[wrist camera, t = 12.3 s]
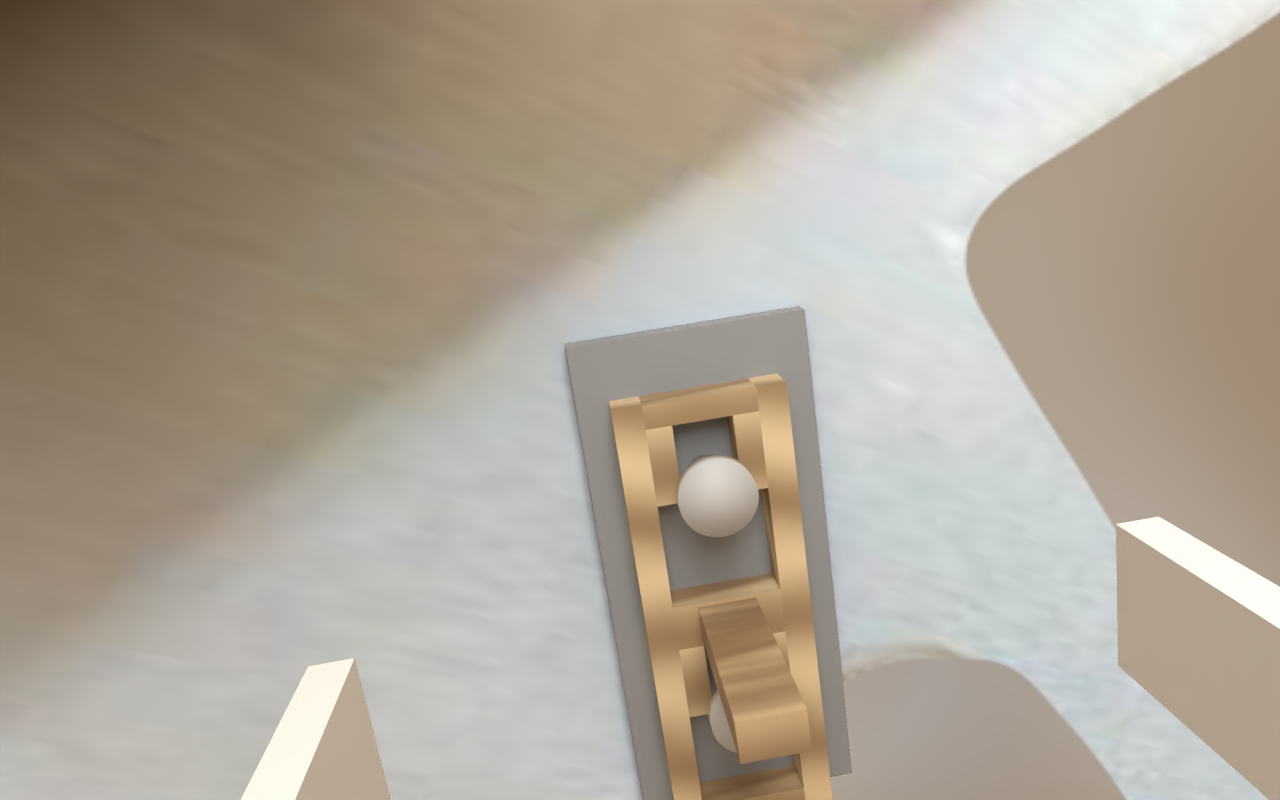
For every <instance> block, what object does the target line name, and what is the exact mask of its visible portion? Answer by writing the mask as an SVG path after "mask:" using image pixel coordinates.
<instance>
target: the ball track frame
mask: <svg viewBox="0 0 1280 800" xmlns="http://www.w3.org/2000/svg"><path fill="white" fill-rule="evenodd" d="M609 405H610V411H611V417H612V423H613V429H614V435H615V442H616V448H617V454H618V460H619V466H620V472H621V479H622V485H623V491H624V497H625V503H626V509H627V516H628V522H629V528H630V534H631V540H632V546H633V552H634V559H635V565H636V571H637V577H638V583H639V589H640V596H641V602H642V608H643V614H644V620H645V626H646V633H647V639H648V645H649V651H650V657H651V663H652V670H653V676H654V682H655V688H656V694H657V700H658V707H659V713H660V719H661V725H662V731H663V737H664V743H665V750H666V756H667V762H668V768H669V774H670V780H671V787H672V793H673V799H674V800H832V789H831V781H830V771H829V762H828V753H827V744H826V735H825V726H824V717H823V708H822V698H821V689H820V680H819V671H818V662H817V653H816V644H815V635H814V626H813V617H812V608H811V598H810V589H809V580H808V571H807V562H806V553H805V544H804V535H803V526H802V517H801V507H800V498H799V489H798V480H797V471H796V462H795V453H794V444H793V435H792V426H791V416H790V407H789V398H788V389H787V382H786V381H785V380H784V379H783V378H782V377H780V376H779V375H778V374H771V375H765V376H759V377H753V378H747V379H741V380H735V381H729V382H722V383H716V384H710V385H704V386H698V387H692V388H686V389H680V390H674V391H668V392H662V393H656V394H650V395H644V396H638V397H632V398H626V399H620V400H614V401H609ZM721 417H727V419H728V427H729V435H730V443H731V450H732V458H734V459H736V460H738V461H740V462H741V463H742V464H743V465H744V466H745V467H746V468H747V469H748V471H749V472H750V474H751V475H752V477H753V479H754V480H755V482H756V485H757V488H758V489H762V497H763V506H764V514H765V522H766V530H767V539H768V547H769V555H770V564H771V572H772V573H768V574H763V575H757V576H751V577H745V578H740V579H734V580H728V581H723V582H717V583H711V584H706V585H700V586H694V587H688V588H683V589H677V590H671V591H670V586H669V580H668V573H667V567H666V560H665V554H664V547H663V541H662V534H661V527H660V521H659V514H658V508H657V507H659V506H665V505H671V504H677V498H676V490H677V484H678V481H679V479H680V477H679V470H678V463H677V456H676V449H675V442H674V435H673V429H672V426H673V425H679V424H685V423H691V422H697V421H703V420H709V419H715V418H721ZM704 646H705V649H706V652H707V656H708V659H709V662H710V665H711V669H712V672H713V675H714V679H715V682H716V685H717V688H718V692H719V695H720V698H721V702H722V705H723V708H724V711H725V715H726V718H727V721H728V725H729V728H730V731H731V735H732V738H733V741H734V744H735V748H736V751H737V754H738V758H739V761H740V764H744V763H750V762H755V761H760V760H766V759H771V758H777V757H782V756H787V755H793V754H794V762H795V765H792V766H787V767H781V768H776V769H770V770H765V771H760V772H754V773H749V774H744V775H738V776H733V777H727V778H722V779H717V780H711V781H706V782H700V783H699V776H698V769H697V763H696V756H695V750H694V743H693V737H692V730H691V724H690V717H695V716H700V715H706V714H708V707H709V703H710V700H711V691H710V684H709V677H708V670H707V663H706V656H705V649H704Z"/></svg>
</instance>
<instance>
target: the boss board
mask: <svg viewBox="0 0 1280 800" xmlns="http://www.w3.org/2000/svg"><path fill="white" fill-rule="evenodd" d="M565 345H566V354H567V359H568V365H569V371H570V377H571V383H572V389H573V394H574V400H575V406H576V412H577V418H578V423H579V429H580V435H581V441H582V447H583V452H584V458H585V464H586V470H587V476H588V481H589V487H590V493H591V499H592V505H593V511H594V516H595V522H596V528H597V534H598V540H599V545H600V551H601V557H602V563H603V569H604V574H605V580H606V586H607V592H608V598H609V604H610V609H611V615H612V621H613V627H614V633H615V638H616V644H617V650H618V656H619V662H620V667H621V673H622V679H623V685H624V691H625V696H626V702H627V708H628V714H629V720H630V726H631V731H632V737H633V743H634V749H635V755H636V760H637V766H638V772H639V778H640V784H641V789H642V795H643V800H674V799H673V793H672V787H671V780H670V774H669V768H668V762H667V756H666V750H665V743H664V737H663V731H662V725H661V719H660V713H659V707H658V700H657V694H656V688H655V682H654V676H653V670H652V663H651V657H650V651H649V645H648V639H647V633H646V626H645V620H644V614H643V608H642V602H641V596H640V589H639V583H638V577H637V571H636V565H635V559H634V552H633V546H632V540H631V534H630V528H629V522H628V516H627V509H626V503H625V497H624V491H623V485H622V479H621V472H620V466H619V460H618V454H617V448H616V442H615V435H614V429H613V423H612V417H611V411H610V405H609V401H614V400H620V399H626V398H632V397H638V396H644V395H650V394H656V393H662V392H668V391H674V390H680V389H686V388H692V387H698V386H704V385H710V384H716V383H722V382H729V381H735V380H741V379H747V378H753V377H759V376H765V375H771V374H778V375H779V376H780V377H782V378H783V379H784V380H785V381H786V382H787V389H788V398H789V407H790V416H791V426H792V435H793V444H794V453H795V462H796V471H797V480H798V489H799V498H800V507H801V517H802V526H803V535H804V544H805V553H806V562H807V571H808V580H809V589H810V598H811V608H812V617H813V626H814V635H815V644H816V653H817V662H818V671H819V680H820V689H821V698H822V708H823V717H824V726H825V735H826V744H827V753H828V762H829V771H830V777H832V776H837V775H842V774H847V773H852V769H851V759H850V749H849V740H848V731H847V720H846V711H845V702H844V701H845V700H844V691H843V681H842V671H841V661H840V652H839V642H838V632H837V622H836V613H835V603H834V593H833V583H832V573H831V564H830V554H829V544H828V534H827V525H826V515H825V505H824V495H823V486H822V476H821V466H820V456H819V447H818V437H817V427H816V417H815V407H814V398H813V388H812V378H811V368H810V359H809V349H808V339H807V329H806V320H805V310H804V309H802V308H801V307H799V306H797V307H791V308H784V309H778V310H772V311H766V312H760V313H753V314H747V315H741V316H735V317H729V318H723V319H716V320H710V321H704V322H698V323H692V324H686V325H679V326H673V327H667V328H661V329H655V330H648V331H642V332H636V333H630V334H624V335H618V336H611V337H605V338H599V339H593V340H587V341H580V342H574V343H568V344H565ZM672 429H673V435H674V442H675V449H676V456H677V463H678V470H679V477H680V479H679V481H678V484H677V490H676V498H677V504H671V505H665V506H659V507H657V508H658V514H659V521H660V527H661V534H662V541H663V547H664V554H665V560H666V567H667V573H668V580H669V586H670V591H671V590H677V589H683V588H688V587H694V586H700V585H706V584H711V583H717V582H723V581H728V580H734V579H740V578H745V577H751V576H757V575H763V574H768V573H772V572H771V564H770V555H769V547H768V539H767V530H766V522H765V514H764V506H763V497H762V489H758V488H757V485H756V482H755V480H754V479H753V477H752V475H751V474H750V472H749V471H748V469H747V468H746V467H745V466H744V465H743V464H742V463H741V462H740V461H738V460H736V459H734V458H732V450H731V443H730V435H729V427H728V419H727V417H721V418H715V419H709V420H703V421H697V422H691V423H685V424H679V425H673V426H672ZM704 649H705V646H704ZM705 656H706V663H707V670H708V677H709V684H710V691H711V700H710V703H709V707H708V714H706V715H700V716H695V717H690V724H691V730H692V737H693V743H694V750H695V756H696V763H697V769H698V776H699V783H700V782H706V781H711V780H717V779H722V778H727V777H733V776H738V775H744V774H749V773H754V772H760V771H765V770H770V769H776V768H781V767H787V766H792V765H795V762H794V754H793V755H787V756H782V757H777V758H771V759H766V760H760V761H755V762H750V763H744V764H740V761H739V758H738V754H737V751H736V748H735V744H734V741H733V738H732V735H731V731H730V728H729V725H728V721H727V718H726V715H725V711H724V708H723V705H722V702H721V698H720V695H719V692H718V688H717V685H716V682H715V679H714V675H713V672H712V669H711V665H710V662H709V659H708V656H707V652H706V649H705Z"/></svg>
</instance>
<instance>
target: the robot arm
mask: <svg viewBox="0 0 1280 800" xmlns="http://www.w3.org/2000/svg"><path fill="white" fill-rule="evenodd" d="M1116 554H1117V621H1118V666H1119V667H1121V668H1122V669H1123V670H1124V671H1125V672H1126V673H1127V674H1128V675H1130V676H1131V677H1132V678H1133V679H1134V680H1135V681H1136V682H1137V683H1139V684H1140V685H1141V686H1142V687H1143V688H1144V689H1145V690H1146V691H1148V692H1149V693H1150V694H1151V695H1152V696H1153V697H1154V698H1155V699H1157V700H1158V701H1159V702H1160V703H1161V704H1162V705H1163V706H1164V707H1166V708H1167V709H1168V710H1169V711H1170V712H1171V713H1172V714H1173V715H1175V716H1176V717H1177V718H1178V719H1179V720H1180V721H1181V722H1182V723H1184V724H1185V725H1186V726H1187V727H1188V728H1189V729H1190V730H1191V731H1193V732H1194V733H1195V734H1196V735H1197V736H1198V737H1199V738H1200V739H1202V740H1203V741H1204V742H1205V743H1206V744H1207V745H1208V746H1209V747H1211V748H1212V749H1213V750H1214V751H1215V752H1216V753H1217V754H1218V755H1220V756H1221V757H1222V758H1223V759H1224V760H1225V761H1226V762H1227V763H1229V764H1230V765H1231V766H1232V767H1233V768H1234V769H1235V770H1236V771H1238V772H1239V773H1240V774H1241V775H1242V776H1243V777H1244V778H1245V779H1247V780H1248V781H1249V782H1250V783H1251V784H1252V785H1253V786H1254V787H1256V788H1257V789H1258V790H1259V791H1260V792H1261V793H1262V794H1263V795H1265V796H1266V797H1267V798H1268V799H1269V800H1280V587H1279V586H1277V585H1275V584H1274V583H1272V582H1270V581H1269V580H1267V579H1265V578H1263V577H1262V576H1260V575H1258V574H1256V573H1255V572H1253V571H1251V570H1250V569H1248V568H1246V567H1244V566H1243V565H1241V564H1239V563H1237V562H1236V561H1234V560H1232V559H1231V558H1229V557H1227V556H1225V555H1224V554H1222V553H1220V552H1219V551H1217V550H1215V549H1213V548H1212V547H1210V546H1208V545H1206V544H1205V543H1203V542H1201V541H1200V540H1198V539H1196V538H1194V537H1192V536H1191V535H1189V534H1187V533H1186V532H1184V531H1182V530H1181V529H1179V528H1177V527H1175V526H1174V525H1172V524H1170V523H1168V522H1167V521H1165V520H1163V519H1162V518H1160V517H1155V518H1149V519H1144V520H1138V521H1132V522H1126V523H1121V524H1116ZM241 800H390V795H389V791H388V787H387V783H386V779H385V775H384V772H383V768H382V764H381V760H380V756H379V752H378V748H377V744H376V740H375V736H374V732H373V728H372V725H371V721H370V717H369V713H368V709H367V705H366V701H365V697H364V693H363V689H362V685H361V681H360V678H359V674H358V670H357V666H356V662H355V658H353V659H347V660H341V661H335V662H330V663H324V664H318V665H313V666H308V668H307V670H306V672H305V674H304V676H303V678H302V680H301V682H300V684H299V686H298V688H297V690H296V691H295V693H294V695H293V697H292V699H291V701H290V703H289V705H288V707H287V709H286V711H285V713H284V715H283V717H282V719H281V721H280V723H279V725H278V727H277V729H276V731H275V733H274V735H273V737H272V739H271V741H270V743H269V745H268V747H267V749H266V751H265V753H264V755H263V757H262V759H261V761H260V763H259V765H258V767H257V769H256V771H255V773H254V774H253V776H252V778H251V780H250V782H249V784H248V786H247V788H246V790H245V792H244V794H243V796H242V798H241Z"/></svg>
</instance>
